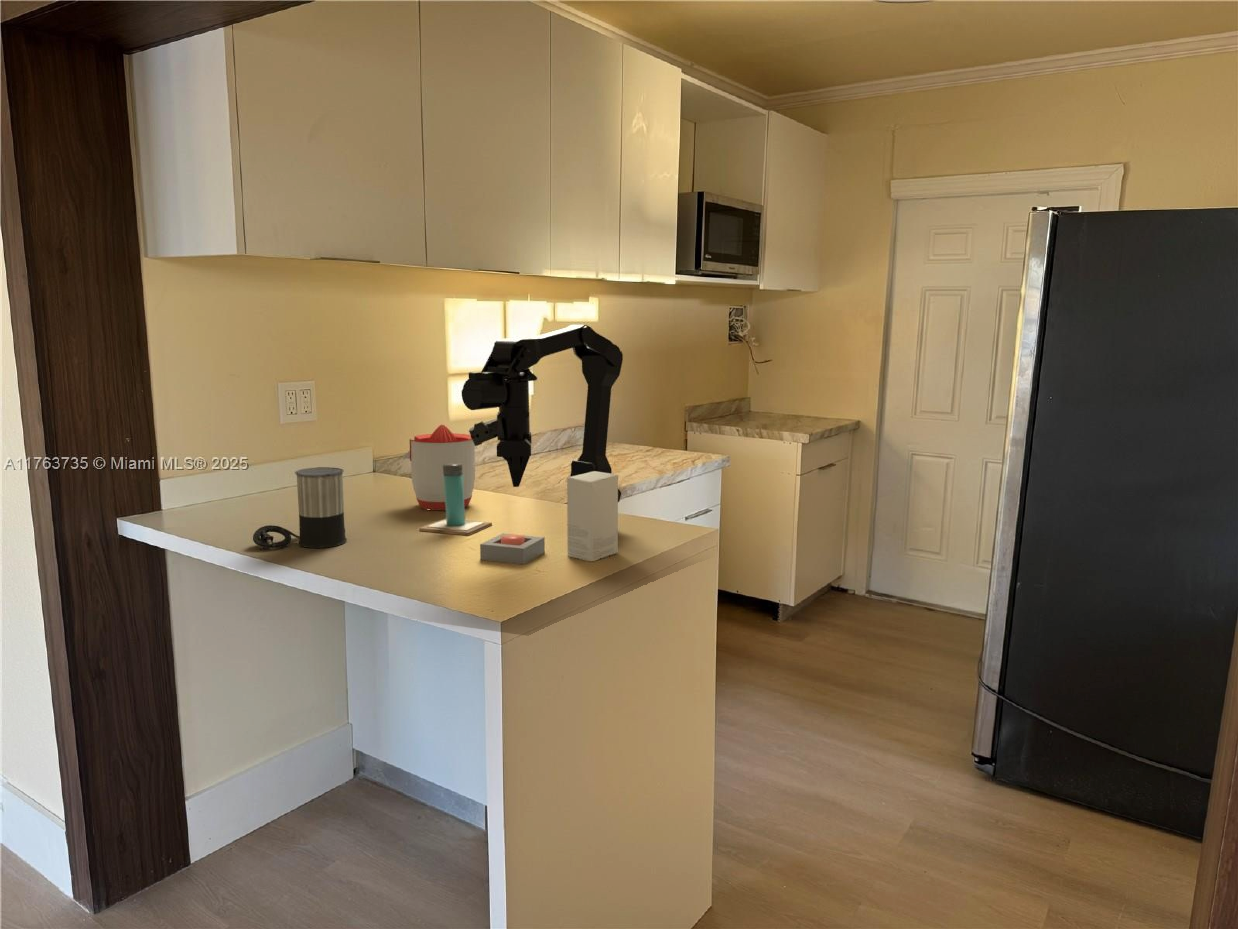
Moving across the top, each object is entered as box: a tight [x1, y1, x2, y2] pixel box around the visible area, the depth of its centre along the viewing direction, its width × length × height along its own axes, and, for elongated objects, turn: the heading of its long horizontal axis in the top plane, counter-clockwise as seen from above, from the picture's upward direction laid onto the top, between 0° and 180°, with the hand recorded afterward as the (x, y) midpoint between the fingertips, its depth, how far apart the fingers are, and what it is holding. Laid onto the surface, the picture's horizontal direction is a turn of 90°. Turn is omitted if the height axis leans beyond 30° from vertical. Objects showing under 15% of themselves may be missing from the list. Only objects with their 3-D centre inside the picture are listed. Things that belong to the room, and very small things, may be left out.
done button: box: [501, 534, 525, 546], centre depth 161 cm, size 4×4×3 cm
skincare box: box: [566, 471, 619, 562], centre depth 161 cm, size 8×7×16 cm
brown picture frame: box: [418, 517, 493, 537], centre depth 184 cm, size 12×10×1 cm
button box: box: [479, 532, 546, 565], centre depth 162 cm, size 9×9×3 cm
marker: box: [443, 463, 466, 526], centre depth 183 cm, size 4×4×13 cm
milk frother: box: [252, 466, 348, 549], centre depth 169 cm, size 14×16×15 cm
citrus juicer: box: [402, 424, 476, 511], centre depth 204 cm, size 16×17×20 cm
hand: (516, 486), depth 164 cm, fingers closed
